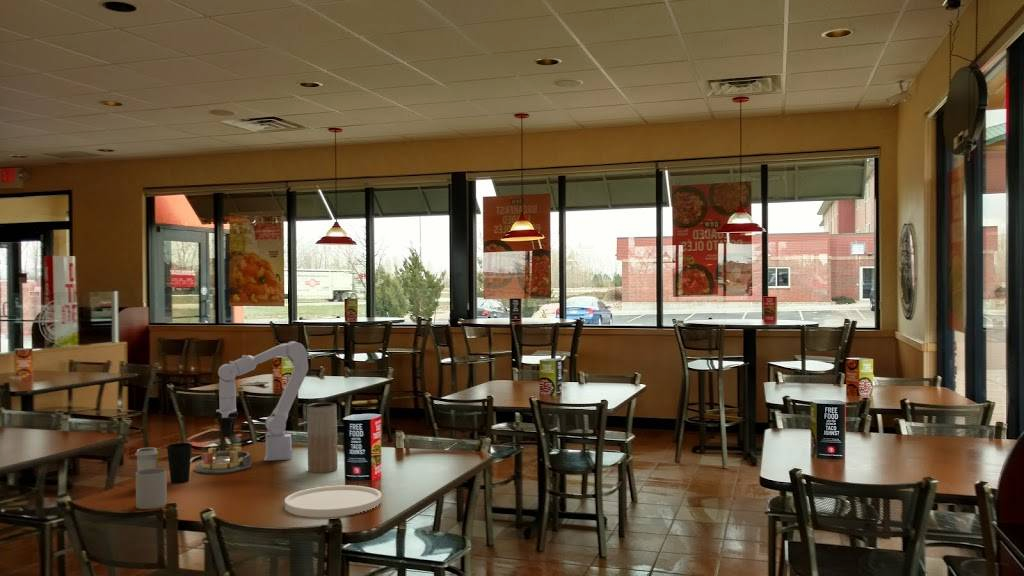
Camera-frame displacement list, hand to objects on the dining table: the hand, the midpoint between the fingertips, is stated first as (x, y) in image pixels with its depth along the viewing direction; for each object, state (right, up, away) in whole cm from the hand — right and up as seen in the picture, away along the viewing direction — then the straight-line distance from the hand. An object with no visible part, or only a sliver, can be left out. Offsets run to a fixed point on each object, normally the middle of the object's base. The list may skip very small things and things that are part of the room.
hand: (228, 434), depth 305 cm
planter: (+37, -10, -14) cm, 41 cm away
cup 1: (-15, -11, -34) cm, 39 cm away
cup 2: (-3, -11, -58) cm, 59 cm away
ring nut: (+1, -9, -8) cm, 12 cm away
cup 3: (-7, -11, -28) cm, 31 cm away
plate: (+51, -11, -59) cm, 79 cm away
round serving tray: (+1, -10, -8) cm, 13 cm away
